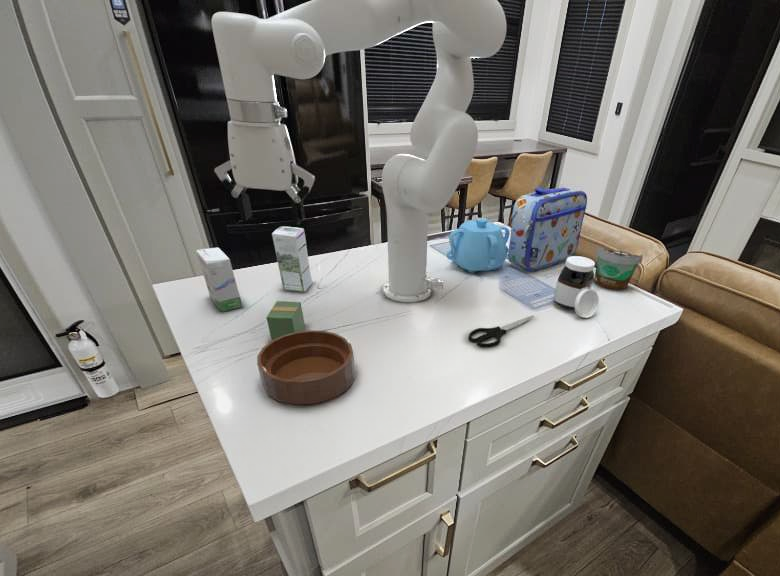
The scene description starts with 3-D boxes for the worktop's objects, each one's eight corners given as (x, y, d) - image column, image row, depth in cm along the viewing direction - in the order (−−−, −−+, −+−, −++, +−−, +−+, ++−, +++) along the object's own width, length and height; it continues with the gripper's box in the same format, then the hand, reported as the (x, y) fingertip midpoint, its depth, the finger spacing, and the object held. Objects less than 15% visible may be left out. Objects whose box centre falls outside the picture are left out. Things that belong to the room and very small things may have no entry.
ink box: (243, 307, 97) (230, 258, 89) (221, 312, 94) (205, 262, 87) (231, 293, 102) (218, 245, 94) (210, 298, 99) (194, 249, 92)
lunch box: (525, 278, 119) (540, 197, 106) (498, 267, 125) (509, 188, 112) (578, 258, 135) (597, 185, 121) (552, 248, 141) (567, 177, 127)
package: (305, 326, 92) (300, 301, 88) (296, 343, 86) (291, 317, 82) (282, 325, 91) (276, 300, 88) (272, 342, 86) (266, 316, 82)
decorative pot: (490, 281, 116) (497, 232, 108) (440, 267, 122) (443, 220, 113) (511, 263, 128) (519, 218, 120) (465, 251, 133) (469, 207, 125)
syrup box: (313, 283, 109) (304, 227, 100) (304, 293, 104) (295, 235, 95) (291, 281, 109) (281, 224, 100) (282, 290, 104) (270, 232, 95)
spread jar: (563, 293, 113) (573, 251, 106) (603, 306, 108) (617, 263, 101) (544, 309, 105) (554, 264, 98) (587, 324, 100) (600, 278, 93)
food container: (586, 286, 118) (596, 251, 112) (588, 278, 122) (598, 244, 116) (631, 295, 114) (644, 260, 108) (632, 287, 119) (644, 253, 113)
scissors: (521, 311, 103) (463, 337, 92) (521, 308, 102) (463, 334, 91) (542, 322, 99) (485, 351, 88) (543, 319, 98) (485, 347, 87)
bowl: (360, 355, 84) (358, 331, 81) (347, 408, 71) (344, 383, 68) (279, 352, 83) (273, 328, 80) (250, 405, 70) (243, 379, 67)
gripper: (313, 116, 71) (324, 219, 82) (212, 107, 71) (235, 211, 81) (300, 120, 65) (313, 231, 76) (189, 110, 65) (217, 222, 75)
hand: (273, 220), depth 78 cm, fingers open, 9 cm apart
